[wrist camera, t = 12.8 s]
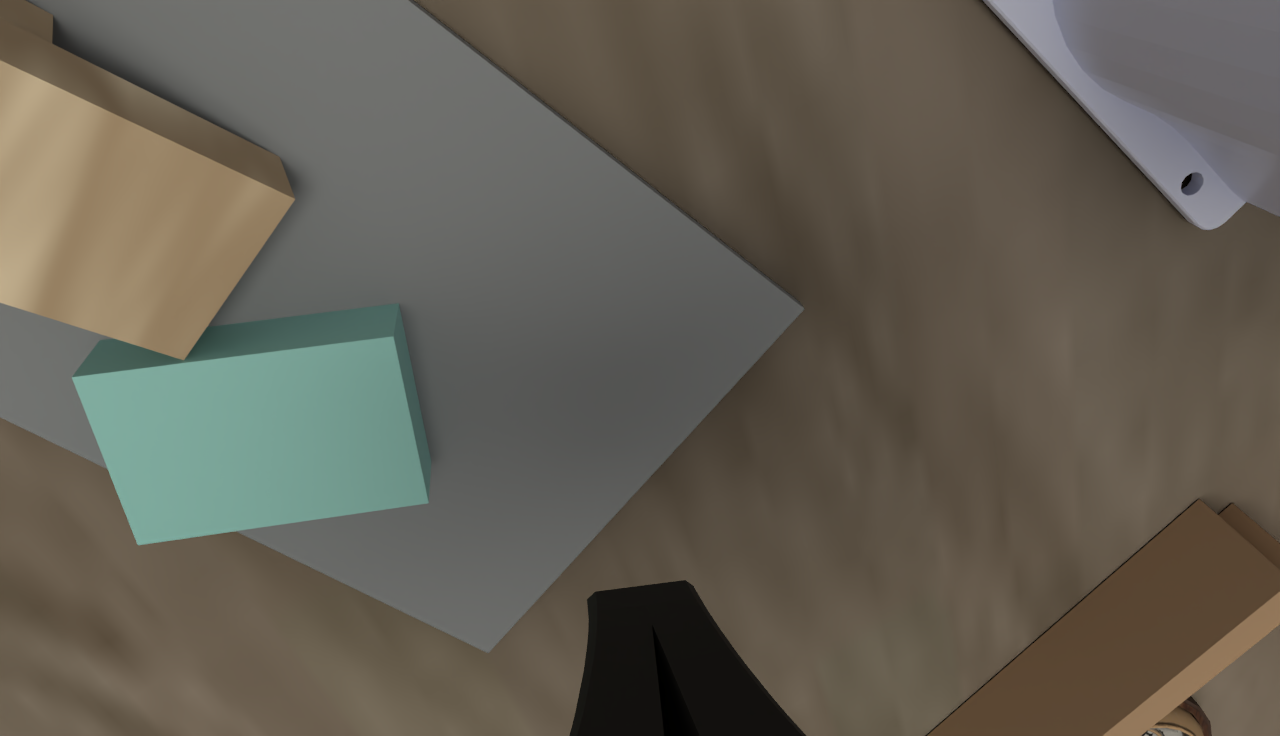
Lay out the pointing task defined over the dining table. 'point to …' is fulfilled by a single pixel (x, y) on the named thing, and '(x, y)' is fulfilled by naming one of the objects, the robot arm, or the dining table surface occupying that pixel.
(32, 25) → the tan wooden block
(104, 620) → the dining table surface
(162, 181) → the tile
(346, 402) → the tile
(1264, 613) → the board and tray
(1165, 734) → the dark brown rounded piece
